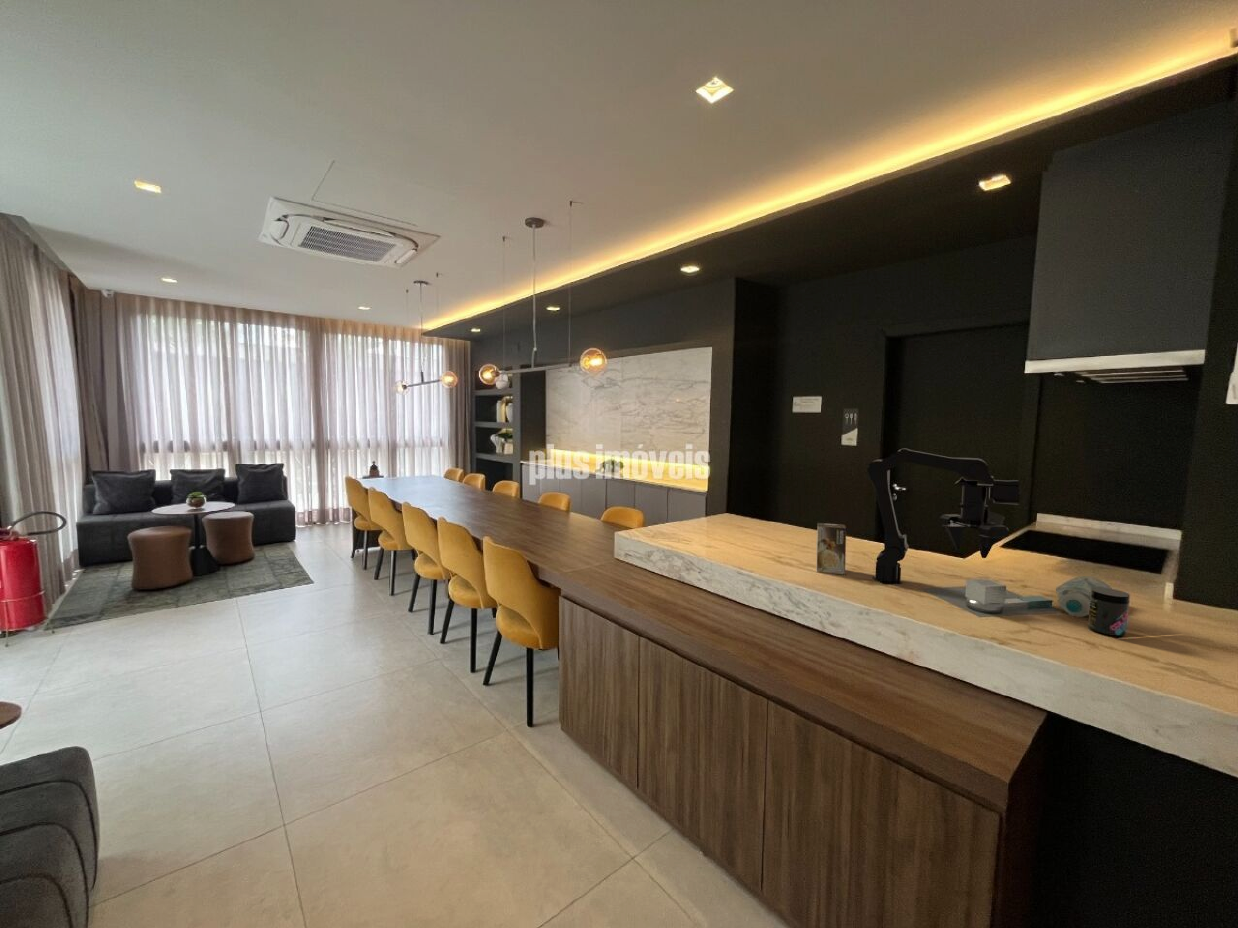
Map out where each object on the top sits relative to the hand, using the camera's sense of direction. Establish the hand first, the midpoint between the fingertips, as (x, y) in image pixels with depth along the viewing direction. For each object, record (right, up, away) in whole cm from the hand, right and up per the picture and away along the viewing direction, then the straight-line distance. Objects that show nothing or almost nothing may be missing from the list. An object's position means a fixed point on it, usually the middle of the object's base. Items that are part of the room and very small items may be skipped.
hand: (970, 553), depth 145 cm
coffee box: (-31, -11, +25) cm, 41 cm away
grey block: (-4, -11, -10) cm, 15 cm away
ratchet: (+4, -13, -9) cm, 17 cm away
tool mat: (+2, -13, -4) cm, 14 cm away
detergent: (+23, -14, -10) cm, 29 cm away
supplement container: (+15, -15, -25) cm, 33 cm away
